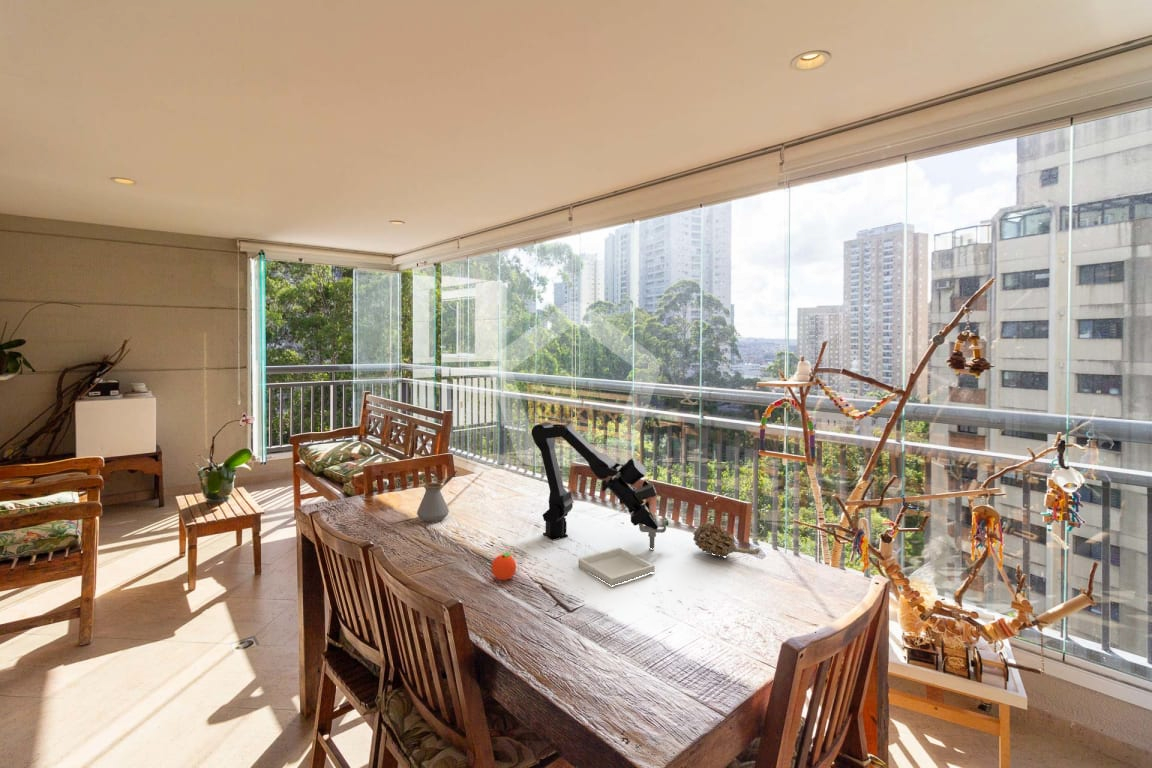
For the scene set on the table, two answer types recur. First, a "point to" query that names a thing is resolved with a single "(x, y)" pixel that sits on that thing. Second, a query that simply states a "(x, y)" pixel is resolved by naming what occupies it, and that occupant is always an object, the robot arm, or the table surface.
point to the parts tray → (615, 566)
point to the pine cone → (717, 540)
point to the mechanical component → (653, 530)
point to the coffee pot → (433, 502)
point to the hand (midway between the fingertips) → (656, 526)
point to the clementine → (503, 567)
